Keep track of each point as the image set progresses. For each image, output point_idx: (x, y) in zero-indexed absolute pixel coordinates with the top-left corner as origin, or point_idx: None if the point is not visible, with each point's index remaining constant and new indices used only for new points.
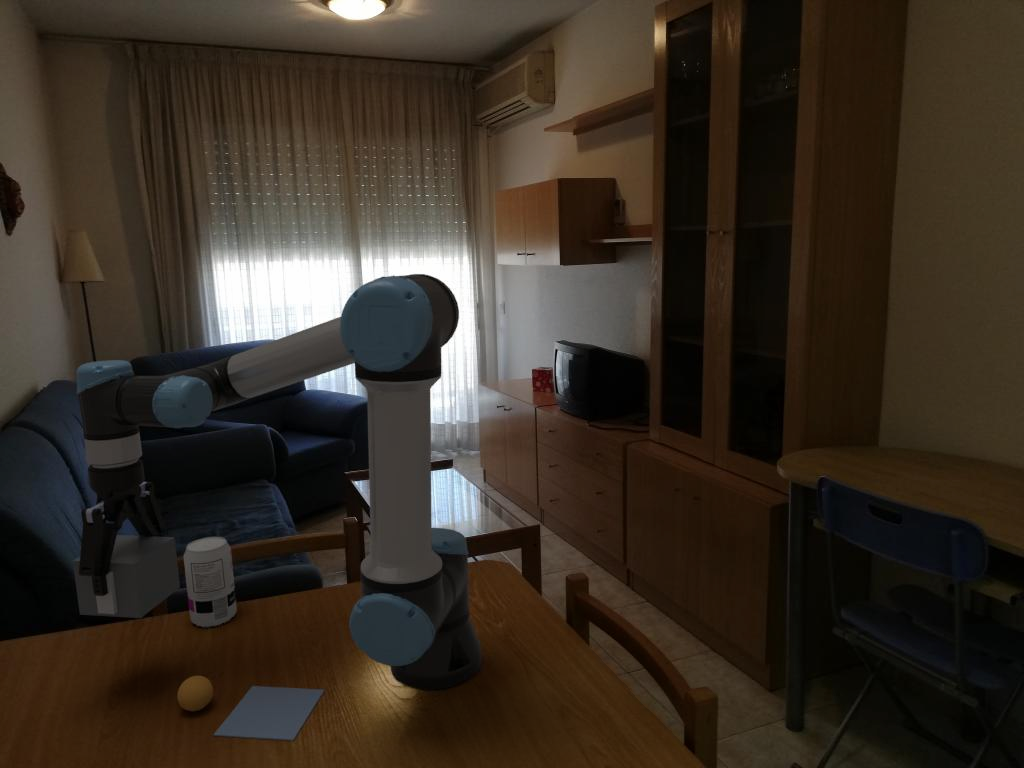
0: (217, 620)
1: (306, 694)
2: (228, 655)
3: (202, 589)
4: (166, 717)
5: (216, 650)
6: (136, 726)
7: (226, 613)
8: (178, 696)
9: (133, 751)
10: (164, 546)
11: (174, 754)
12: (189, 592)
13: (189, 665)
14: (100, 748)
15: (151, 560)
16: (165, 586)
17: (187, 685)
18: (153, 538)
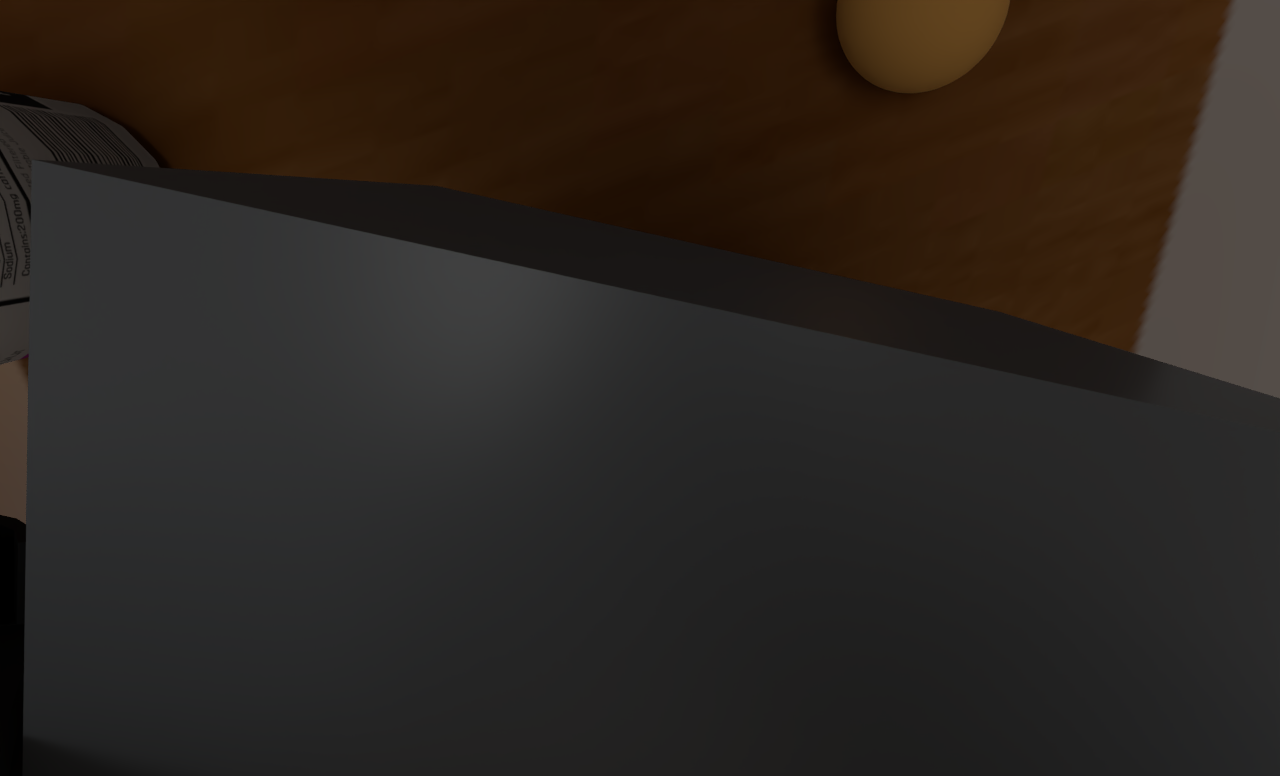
0: (148, 166)
1: None
2: (453, 16)
3: (16, 235)
4: (933, 143)
5: (403, 98)
6: (970, 248)
7: (91, 122)
8: (971, 68)
9: (1134, 192)
10: (524, 262)
11: (1201, 8)
12: (23, 337)
13: (532, 190)
14: (1081, 329)
15: (989, 347)
16: (645, 237)
17: (990, 7)
18: (144, 670)
